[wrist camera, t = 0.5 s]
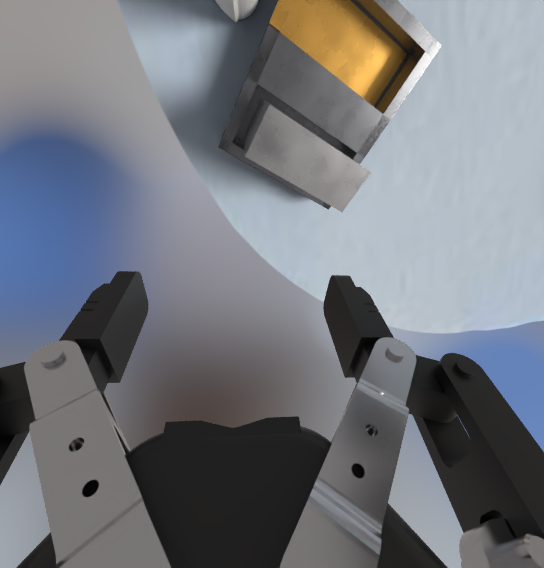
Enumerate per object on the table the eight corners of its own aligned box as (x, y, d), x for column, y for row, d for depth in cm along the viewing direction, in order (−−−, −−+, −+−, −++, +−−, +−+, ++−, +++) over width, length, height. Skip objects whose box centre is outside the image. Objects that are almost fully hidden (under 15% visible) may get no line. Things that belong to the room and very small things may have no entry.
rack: (303, -63, 22) (343, -154, 14) (418, 49, 27) (501, 35, 19) (220, 140, 31) (212, 164, 22) (320, 197, 36) (346, 236, 27)
